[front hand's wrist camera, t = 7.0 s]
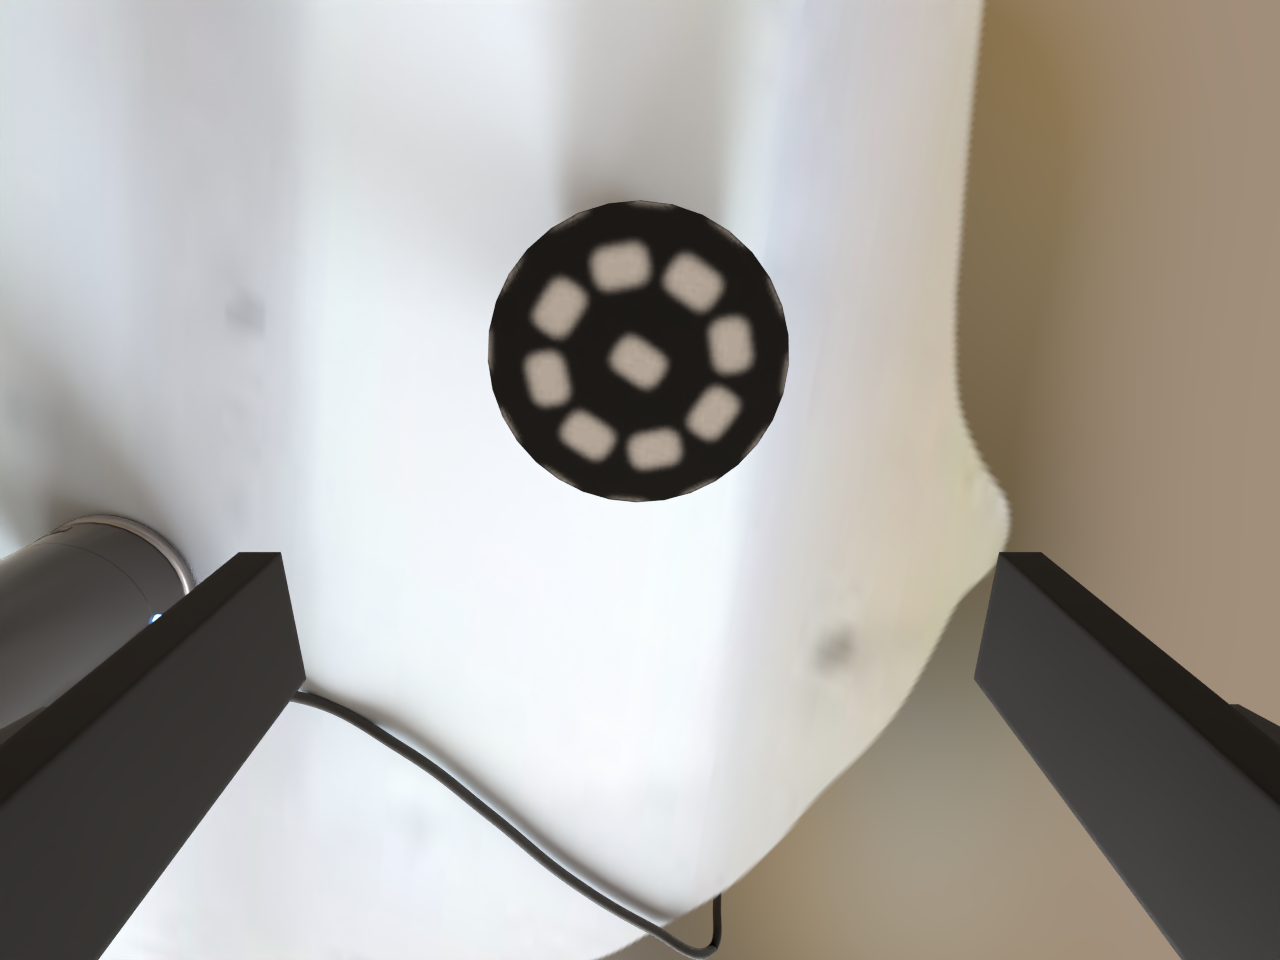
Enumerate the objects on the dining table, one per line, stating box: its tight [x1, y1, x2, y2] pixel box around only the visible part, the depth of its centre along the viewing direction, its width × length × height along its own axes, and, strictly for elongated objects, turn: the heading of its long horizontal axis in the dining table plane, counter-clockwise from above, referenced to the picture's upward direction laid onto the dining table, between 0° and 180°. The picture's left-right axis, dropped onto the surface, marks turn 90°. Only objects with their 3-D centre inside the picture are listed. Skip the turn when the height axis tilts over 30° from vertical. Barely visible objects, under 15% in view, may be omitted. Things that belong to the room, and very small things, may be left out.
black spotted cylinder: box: [488, 200, 789, 502], centre depth 28 cm, size 8×8×20 cm
